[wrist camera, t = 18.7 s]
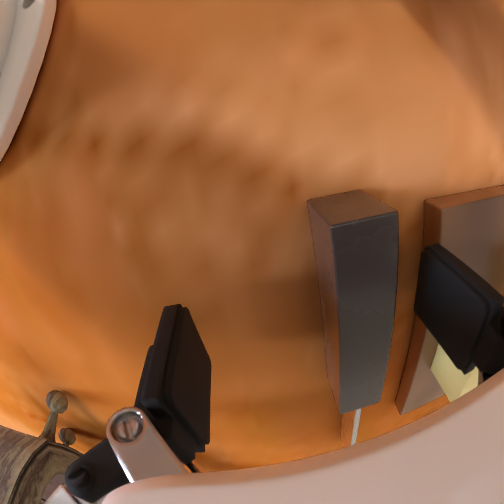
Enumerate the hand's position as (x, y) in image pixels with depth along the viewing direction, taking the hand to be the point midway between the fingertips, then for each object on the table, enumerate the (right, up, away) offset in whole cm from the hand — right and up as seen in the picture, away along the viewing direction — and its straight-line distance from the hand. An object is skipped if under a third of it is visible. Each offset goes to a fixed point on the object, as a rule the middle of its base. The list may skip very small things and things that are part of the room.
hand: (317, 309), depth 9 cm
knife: (+2, -4, +3) cm, 6 cm away
